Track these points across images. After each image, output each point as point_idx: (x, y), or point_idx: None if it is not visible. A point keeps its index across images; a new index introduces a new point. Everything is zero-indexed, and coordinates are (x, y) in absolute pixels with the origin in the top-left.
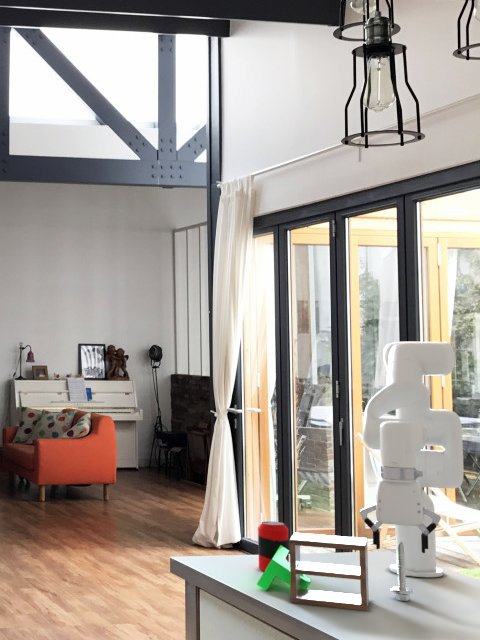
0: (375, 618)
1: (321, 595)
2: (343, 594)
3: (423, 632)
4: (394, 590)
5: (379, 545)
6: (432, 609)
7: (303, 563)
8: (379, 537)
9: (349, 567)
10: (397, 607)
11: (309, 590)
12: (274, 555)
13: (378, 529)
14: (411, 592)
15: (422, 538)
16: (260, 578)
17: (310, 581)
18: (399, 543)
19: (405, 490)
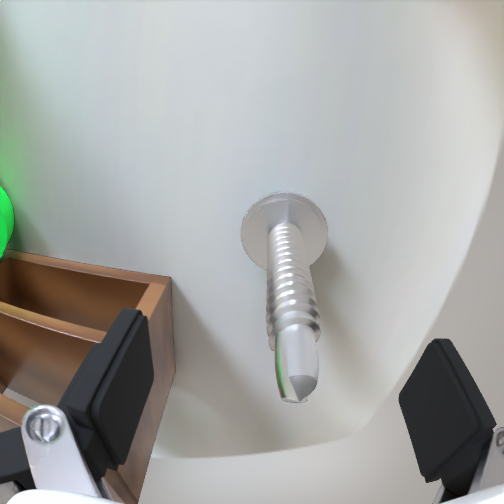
0: (197, 410)
1: (61, 315)
2: (99, 290)
3: (275, 451)
4: (252, 254)
5: (148, 394)
6: (350, 317)
7: None
8: (130, 421)
9: (81, 362)
10: (252, 324)
11: (25, 268)
12: None
13: (97, 452)
14: (314, 260)
15: (422, 465)
16: None
17: (6, 232)
18: (286, 401)
19: None
